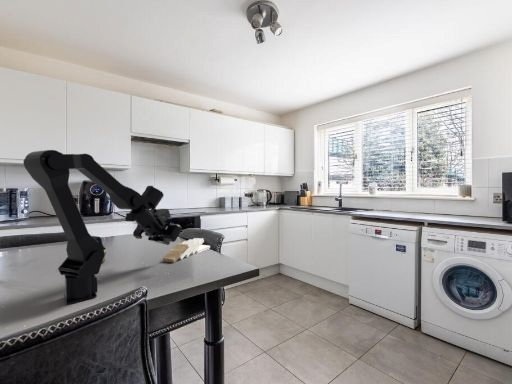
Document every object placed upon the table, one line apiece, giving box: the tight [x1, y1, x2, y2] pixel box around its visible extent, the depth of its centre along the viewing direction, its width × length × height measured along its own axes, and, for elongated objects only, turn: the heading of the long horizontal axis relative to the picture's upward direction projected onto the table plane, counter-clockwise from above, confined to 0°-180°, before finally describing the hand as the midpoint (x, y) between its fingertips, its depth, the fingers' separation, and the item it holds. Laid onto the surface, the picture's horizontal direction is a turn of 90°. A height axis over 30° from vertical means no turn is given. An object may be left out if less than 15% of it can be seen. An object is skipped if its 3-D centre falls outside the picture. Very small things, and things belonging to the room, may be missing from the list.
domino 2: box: [178, 240, 194, 261], centre depth 107 cm, size 2×5×10 cm
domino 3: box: [184, 238, 199, 258], centre depth 110 cm, size 2×5×10 cm
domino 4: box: [190, 237, 205, 255], centre depth 114 cm, size 2×5×10 cm
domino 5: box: [194, 244, 211, 254], centre depth 117 cm, size 2×5×10 cm
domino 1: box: [162, 242, 189, 264], centre depth 103 cm, size 2×5×10 cm
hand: (168, 244), depth 99 cm, fingers closed
